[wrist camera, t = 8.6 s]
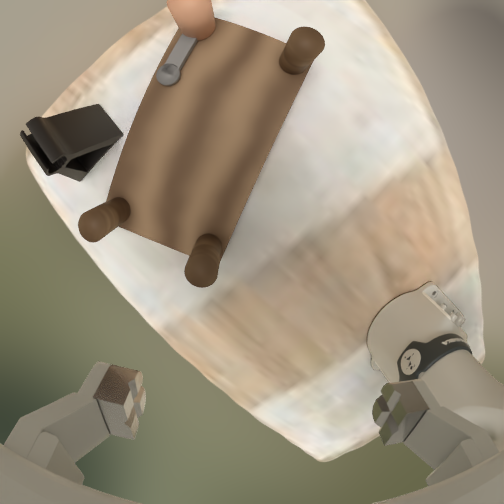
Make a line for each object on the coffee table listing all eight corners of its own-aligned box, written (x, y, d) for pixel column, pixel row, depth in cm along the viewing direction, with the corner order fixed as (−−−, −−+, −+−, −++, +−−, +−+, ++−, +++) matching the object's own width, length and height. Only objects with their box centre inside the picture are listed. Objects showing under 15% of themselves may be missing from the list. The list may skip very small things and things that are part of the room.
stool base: (309, 63, 30) (335, 35, 20) (219, 257, 38) (213, 296, 28) (192, 20, 27) (177, -19, 17) (110, 213, 35) (72, 237, 25)
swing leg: (179, 91, 28) (163, 76, 21) (149, 80, 27) (126, 64, 20) (221, 19, 24) (217, -11, 17) (191, 10, 24) (180, -20, 17)
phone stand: (99, 104, 30) (48, 92, 19) (124, 134, 32) (77, 132, 21) (58, 151, 32) (3, 159, 20) (80, 181, 33) (28, 198, 22)
